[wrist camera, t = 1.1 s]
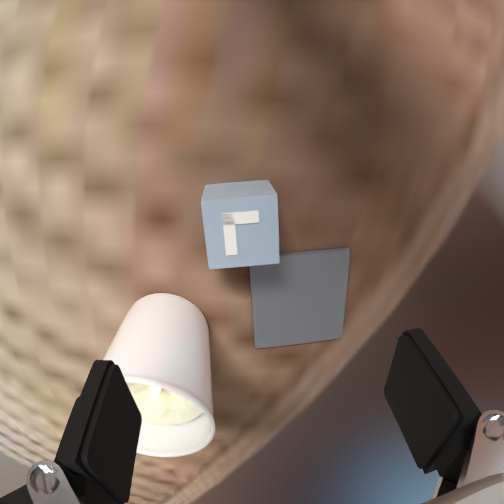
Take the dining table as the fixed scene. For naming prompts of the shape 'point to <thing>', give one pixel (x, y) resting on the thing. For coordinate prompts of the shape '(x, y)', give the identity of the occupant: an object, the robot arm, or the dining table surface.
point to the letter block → (240, 224)
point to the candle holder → (167, 373)
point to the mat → (300, 297)
